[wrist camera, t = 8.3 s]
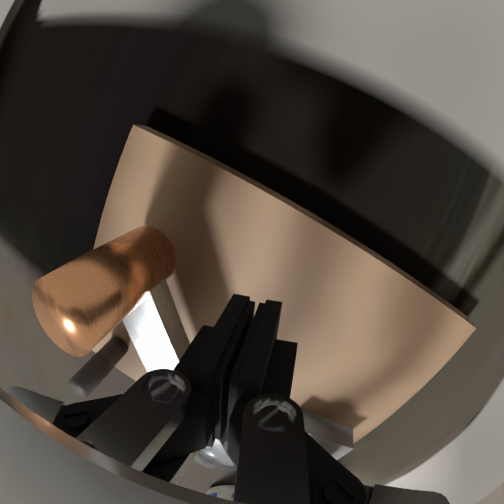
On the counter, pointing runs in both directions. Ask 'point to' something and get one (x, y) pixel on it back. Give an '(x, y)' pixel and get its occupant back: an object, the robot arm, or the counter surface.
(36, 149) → the counter surface
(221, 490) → the supplement tub
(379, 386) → the board
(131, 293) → the lever
